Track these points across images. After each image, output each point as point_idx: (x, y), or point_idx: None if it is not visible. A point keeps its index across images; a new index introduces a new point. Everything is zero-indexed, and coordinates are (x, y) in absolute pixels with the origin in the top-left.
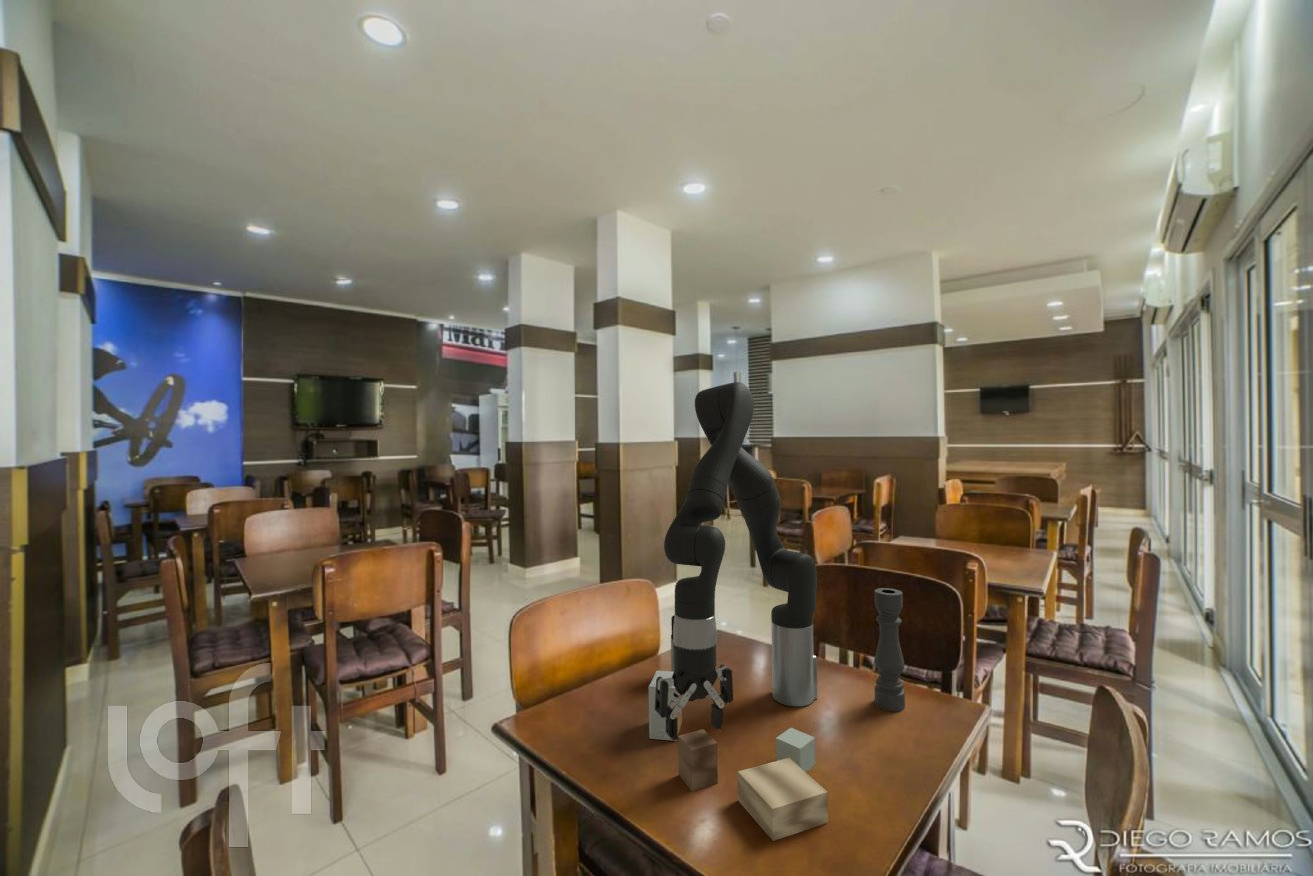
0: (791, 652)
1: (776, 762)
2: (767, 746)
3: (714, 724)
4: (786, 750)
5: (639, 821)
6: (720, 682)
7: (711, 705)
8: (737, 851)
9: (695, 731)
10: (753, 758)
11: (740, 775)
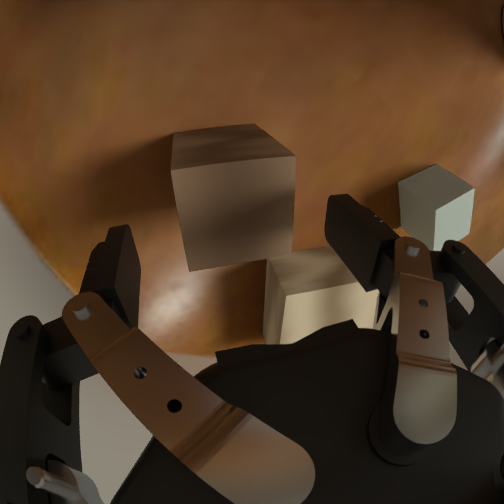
0: None
1: None
2: (425, 120)
3: (332, 221)
4: (424, 222)
5: (58, 264)
6: (487, 305)
7: (377, 238)
8: (205, 341)
9: (257, 162)
10: (380, 142)
11: (284, 302)
